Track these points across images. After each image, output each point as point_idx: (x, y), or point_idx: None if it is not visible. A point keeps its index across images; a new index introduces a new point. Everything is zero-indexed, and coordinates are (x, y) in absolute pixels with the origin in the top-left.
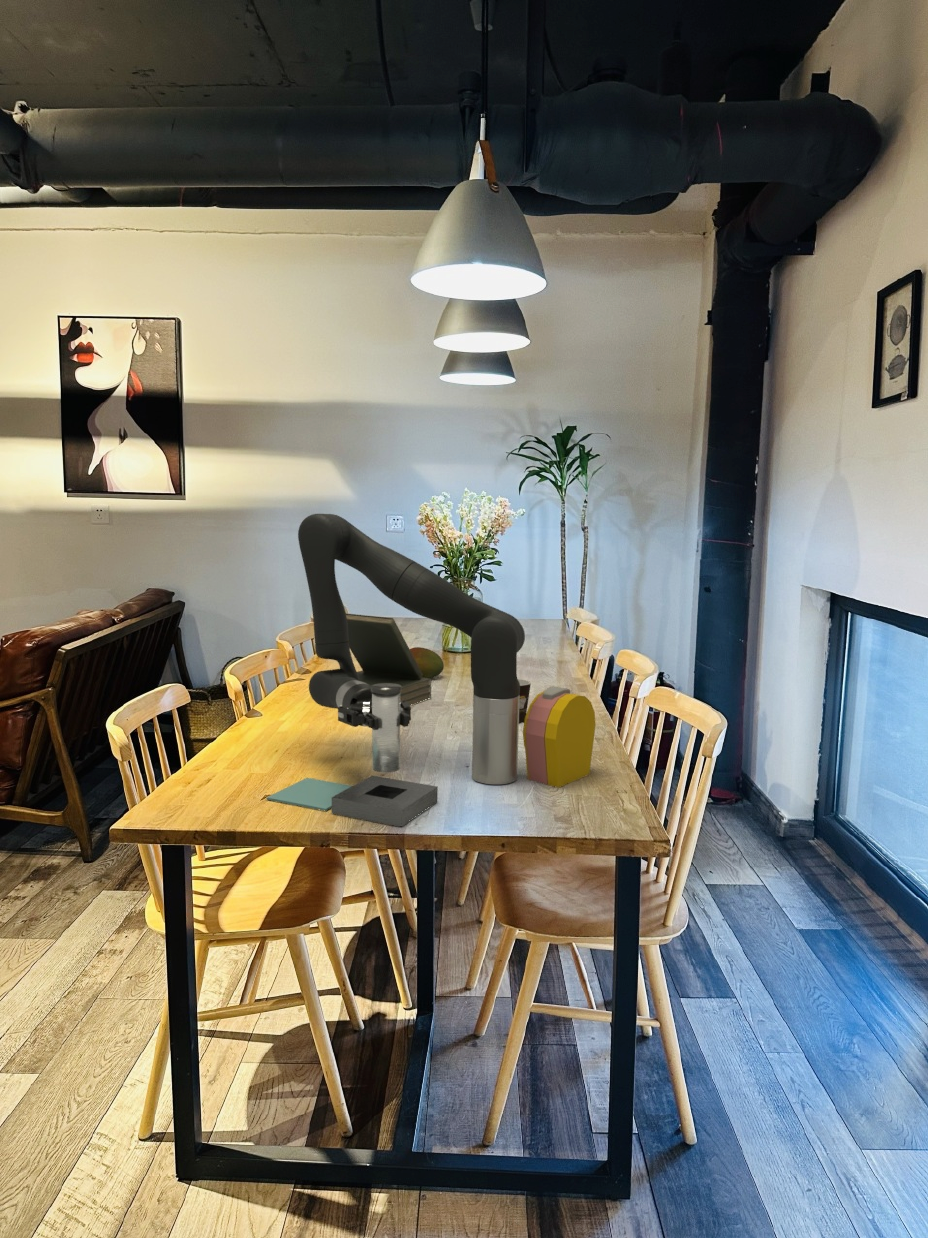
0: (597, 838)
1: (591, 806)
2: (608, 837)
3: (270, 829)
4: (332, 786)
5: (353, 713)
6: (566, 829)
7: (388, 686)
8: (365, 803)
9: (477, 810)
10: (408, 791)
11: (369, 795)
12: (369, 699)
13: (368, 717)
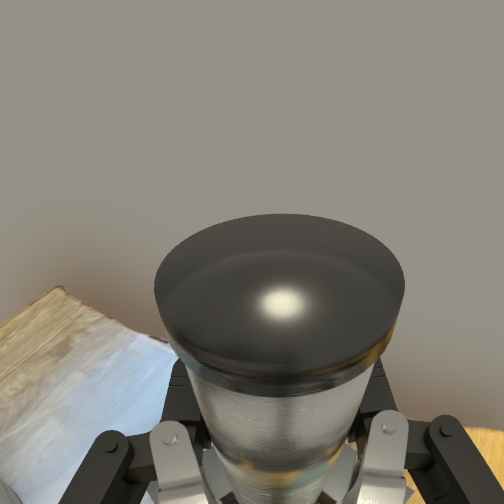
0: (84, 303)
1: (8, 360)
2: (75, 301)
3: (497, 436)
4: None
5: (453, 417)
6: (85, 328)
7: (262, 258)
8: (347, 446)
9: (119, 427)
10: (223, 487)
11: (325, 490)
12: None
13: (377, 387)
